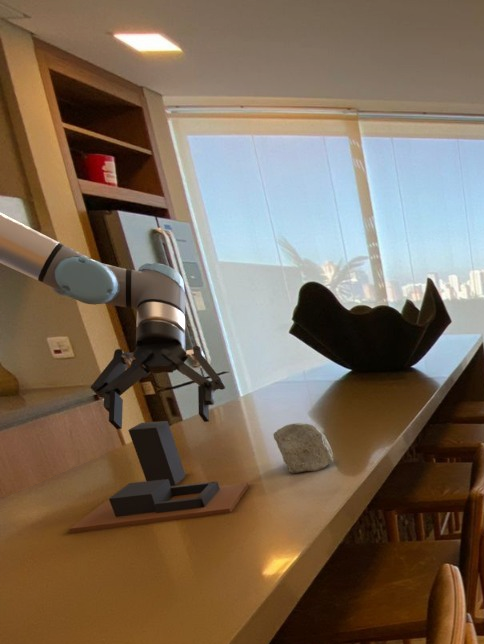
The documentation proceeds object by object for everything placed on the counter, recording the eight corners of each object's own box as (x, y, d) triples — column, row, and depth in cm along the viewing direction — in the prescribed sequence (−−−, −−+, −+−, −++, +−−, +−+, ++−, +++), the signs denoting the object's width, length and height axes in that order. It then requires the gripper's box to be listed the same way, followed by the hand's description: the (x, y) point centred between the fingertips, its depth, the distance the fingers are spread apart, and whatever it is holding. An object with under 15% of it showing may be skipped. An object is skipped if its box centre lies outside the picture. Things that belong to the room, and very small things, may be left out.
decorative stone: (322, 476, 107) (338, 428, 110) (257, 461, 104) (275, 411, 106) (330, 490, 119) (344, 446, 121) (272, 476, 115) (288, 431, 118)
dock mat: (71, 535, 83) (60, 509, 82) (111, 503, 95) (102, 481, 94) (231, 514, 90) (223, 490, 89) (249, 487, 102) (243, 466, 101)
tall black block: (149, 489, 102) (128, 429, 98) (160, 479, 107) (141, 422, 103) (176, 486, 103) (156, 427, 99) (186, 477, 108) (167, 420, 104)
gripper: (240, 341, 121) (245, 425, 113) (93, 348, 112) (88, 439, 105) (227, 316, 114) (231, 403, 107) (70, 321, 105) (62, 416, 98)
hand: (160, 421), depth 106 cm, fingers open, 13 cm apart
